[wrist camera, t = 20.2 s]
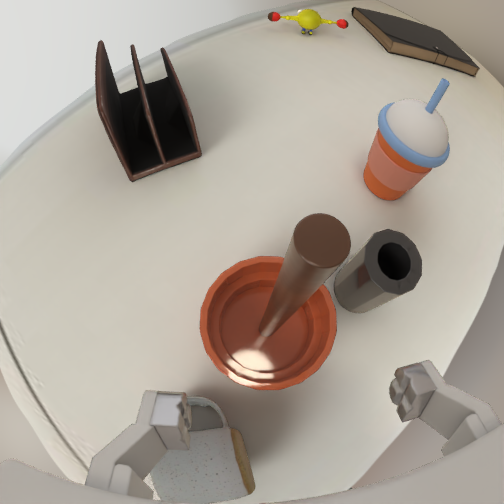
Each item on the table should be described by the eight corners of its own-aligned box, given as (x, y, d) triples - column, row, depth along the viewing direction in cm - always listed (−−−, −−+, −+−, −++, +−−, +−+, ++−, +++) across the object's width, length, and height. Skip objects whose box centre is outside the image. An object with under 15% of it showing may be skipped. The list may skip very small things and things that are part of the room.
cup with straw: (401, 224, 33) (483, 131, 17) (341, 185, 35) (394, 70, 18) (418, 179, 36) (482, 91, 19) (366, 145, 38) (412, 45, 21)
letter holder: (131, 183, 35) (88, 104, 22) (118, 100, 41) (94, 35, 28) (203, 157, 36) (187, 68, 23) (172, 81, 43) (158, 13, 29)
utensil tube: (387, 303, 30) (430, 281, 21) (344, 320, 29) (380, 303, 21) (369, 258, 32) (405, 223, 23) (326, 272, 31) (354, 238, 23)
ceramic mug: (257, 477, 23) (261, 509, 16) (181, 489, 22) (163, 520, 15) (231, 387, 27) (225, 395, 20) (154, 401, 26) (125, 410, 19)
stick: (277, 333, 28) (360, 256, 7) (262, 339, 28) (308, 276, 7) (271, 318, 29) (335, 206, 8) (256, 324, 28) (284, 222, 8)
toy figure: (340, 33, 52) (346, 11, 46) (347, 43, 50) (353, 20, 44) (265, 26, 51) (267, 3, 45) (267, 36, 49) (269, 10, 43)
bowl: (333, 362, 27) (353, 362, 22) (227, 396, 26) (222, 406, 21) (299, 263, 31) (310, 241, 26) (197, 292, 30) (186, 276, 24)
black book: (393, 40, 46) (352, 4, 55) (389, 53, 50) (350, 15, 59) (481, 68, 48) (437, 27, 57) (475, 77, 52) (434, 36, 61)
